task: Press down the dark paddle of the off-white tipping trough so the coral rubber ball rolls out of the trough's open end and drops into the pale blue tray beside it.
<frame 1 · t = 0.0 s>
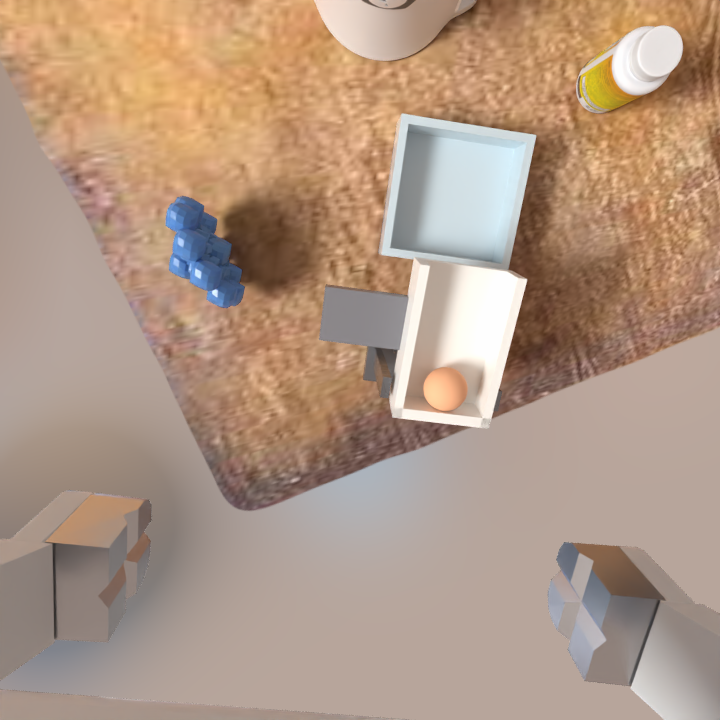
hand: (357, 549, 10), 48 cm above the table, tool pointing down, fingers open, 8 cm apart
grapes: (214, 255, 55), on the table
supplement bottle: (598, 86, 52), on the table
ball: (445, 388, 45), point 14 cm above the table, tilted 48°, touching tipping trough
pale blue tray: (447, 199, 54), on the table
trough stand: (420, 359, 58), on the table
tipping trough: (411, 339, 44), point 14 cm above the table, hinge at -6.0°, touching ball
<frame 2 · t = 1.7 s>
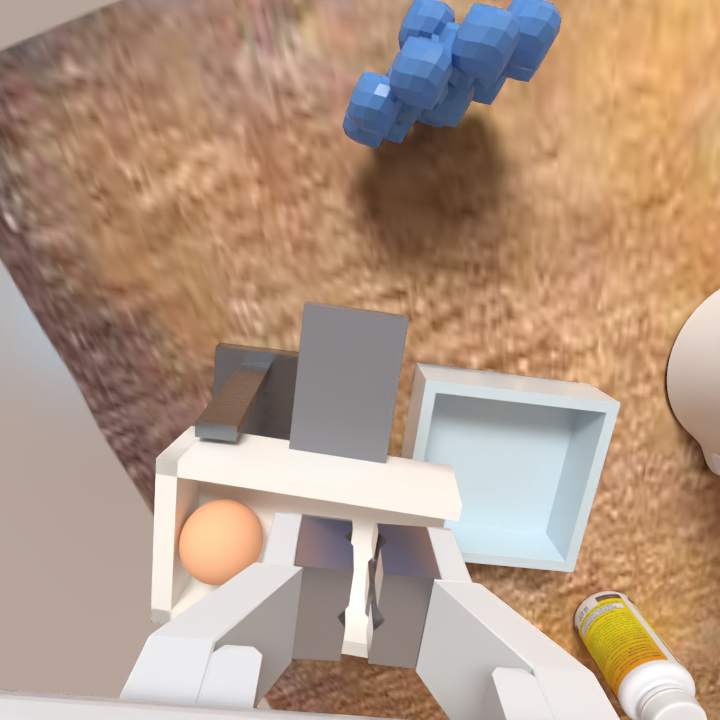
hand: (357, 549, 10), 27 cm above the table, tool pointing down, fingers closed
grapes: (420, 94, 32), on the table
supplement bottle: (601, 612, 44), on the table
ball: (222, 540, 24), point 14 cm above the table, tilted 48°, touching tipping trough
pale blue tray: (486, 454, 39), on the table
trough stand: (253, 428, 38), on the table
tipping trough: (312, 475, 24), point 14 cm above the table, hinge at -6.0°, touching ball
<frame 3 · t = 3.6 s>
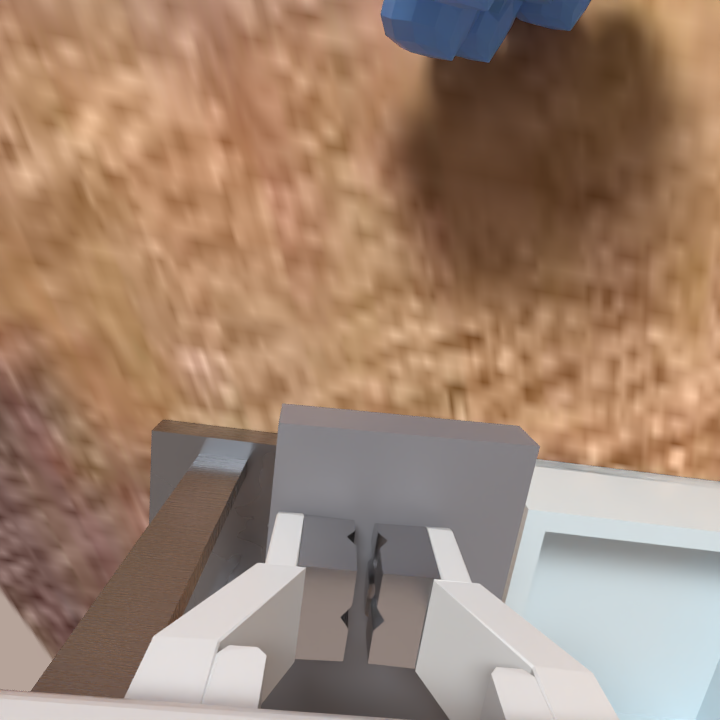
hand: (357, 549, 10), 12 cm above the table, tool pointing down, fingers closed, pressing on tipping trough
pale blue tray: (602, 597, 24), on the table
trough stand: (222, 554, 23), on the table
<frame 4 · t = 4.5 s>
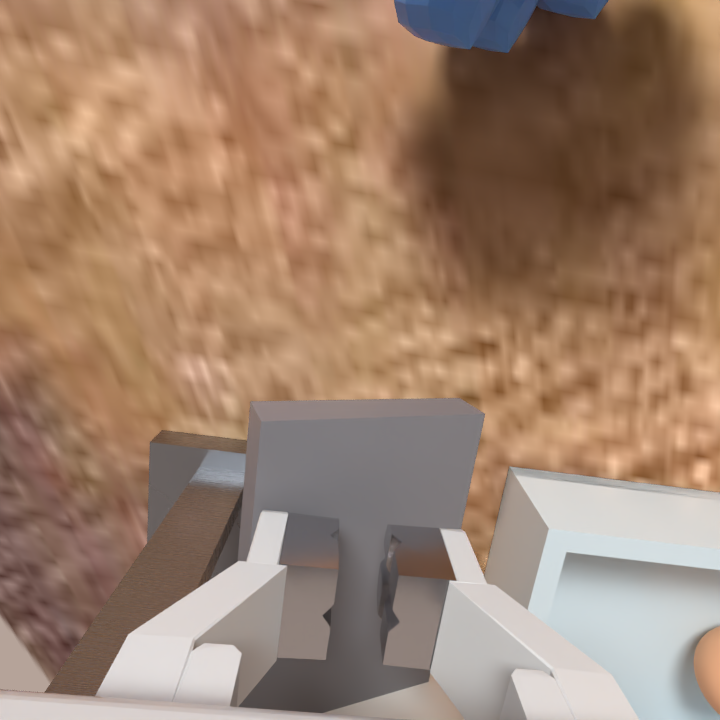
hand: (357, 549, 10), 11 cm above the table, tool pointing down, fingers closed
pale blue tray: (622, 616, 23), on the table
trough stand: (224, 570, 22), on the table
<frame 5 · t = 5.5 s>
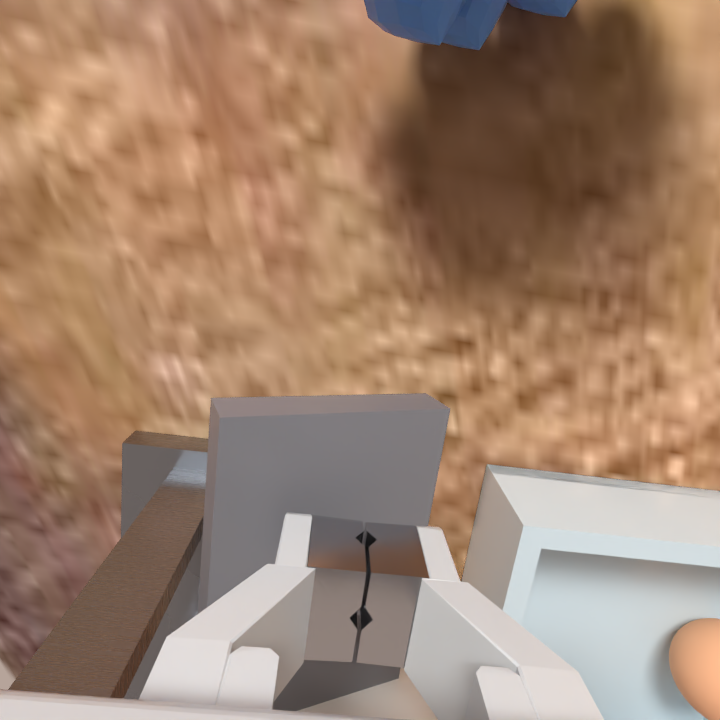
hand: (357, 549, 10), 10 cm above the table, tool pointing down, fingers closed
pale blue tray: (600, 612, 23), on the table
trough stand: (200, 573, 22), on the table
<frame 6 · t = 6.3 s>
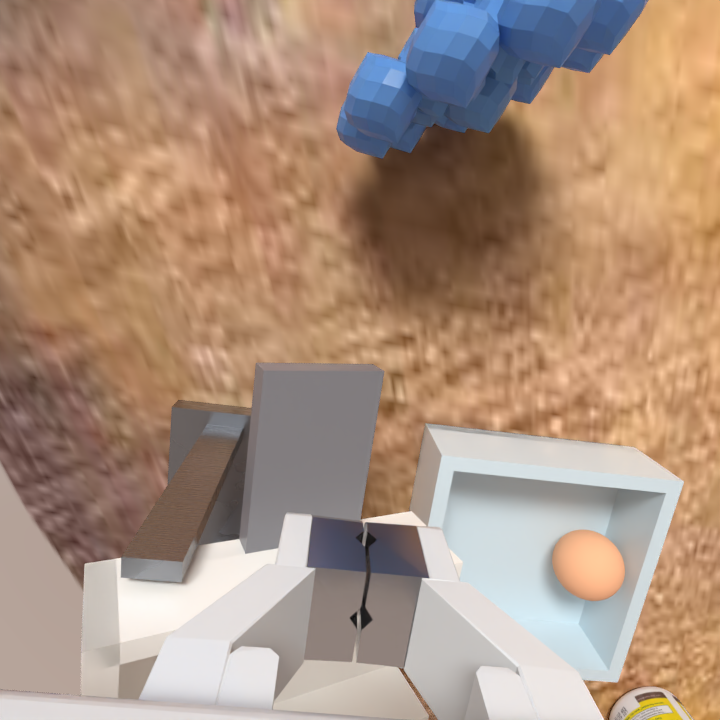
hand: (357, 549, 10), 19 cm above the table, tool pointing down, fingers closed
grapes: (434, 90, 25), on the table
supplement bottle: (639, 709, 37), on the table
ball: (587, 564, 30), point 3 cm above the table, tilted 76°, touching pale blue tray
pale blue tray: (508, 531, 32), on the table
trough stand: (222, 504, 30), on the table
tipping trough: (288, 579, 19), point 11 cm above the table, hinge at 23.8°
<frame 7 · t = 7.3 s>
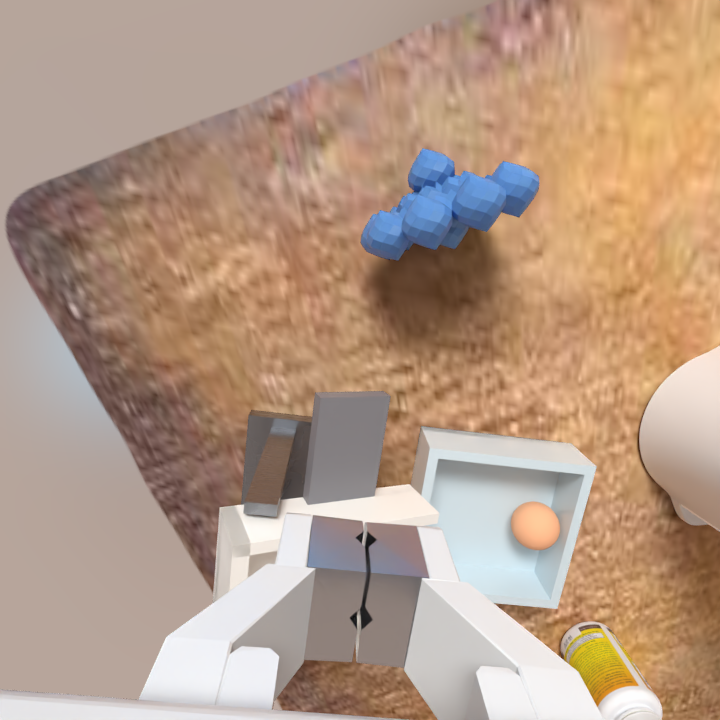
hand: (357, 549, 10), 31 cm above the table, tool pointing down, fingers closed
grapes: (425, 205, 38), on the table
supplement bottle: (584, 639, 49), on the table
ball: (535, 525, 42), point 3 cm above the table, tilted 77°, touching pale blue tray
pale blue tray: (481, 503, 45), on the table
trough stand: (279, 482, 43), on the table
tipping trough: (333, 520, 32), point 11 cm above the table, hinge at 23.8°
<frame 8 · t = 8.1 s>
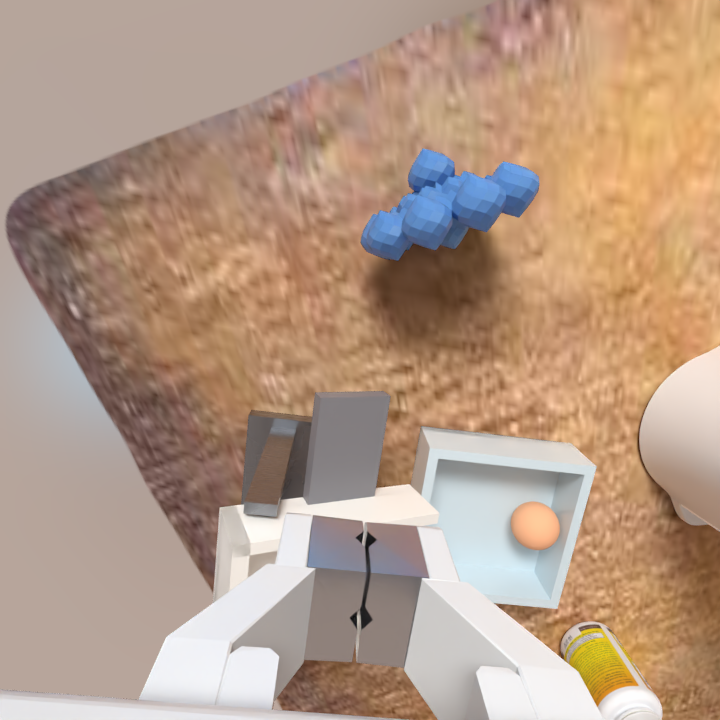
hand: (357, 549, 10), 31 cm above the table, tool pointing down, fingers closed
grapes: (425, 205, 38), on the table
supplement bottle: (584, 639, 49), on the table
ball: (534, 525, 42), point 3 cm above the table, tilted 77°, touching pale blue tray
pale blue tray: (481, 503, 45), on the table
trough stand: (279, 482, 43), on the table
tipping trough: (333, 520, 32), point 11 cm above the table, hinge at 23.8°
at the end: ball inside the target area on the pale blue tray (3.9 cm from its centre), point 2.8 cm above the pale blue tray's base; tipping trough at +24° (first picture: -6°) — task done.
